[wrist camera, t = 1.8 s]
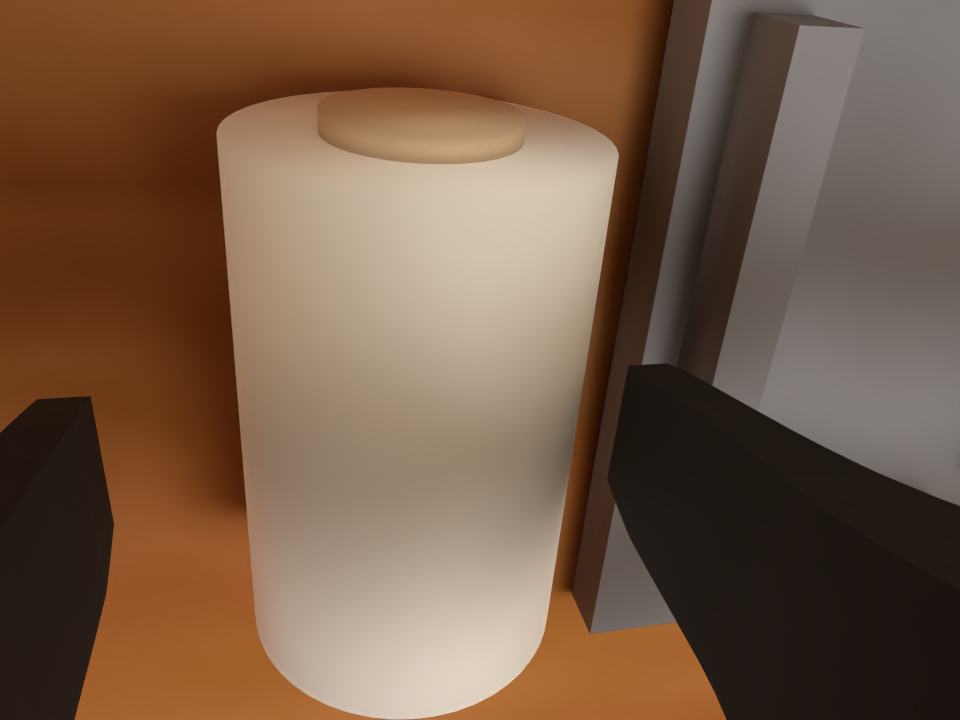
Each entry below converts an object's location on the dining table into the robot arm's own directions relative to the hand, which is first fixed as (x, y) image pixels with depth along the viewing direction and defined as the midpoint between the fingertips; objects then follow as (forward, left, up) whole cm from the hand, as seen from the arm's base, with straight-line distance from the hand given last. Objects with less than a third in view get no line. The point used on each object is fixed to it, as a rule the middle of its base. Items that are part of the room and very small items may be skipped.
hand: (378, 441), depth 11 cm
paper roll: (0, 0, -4) cm, 4 cm away
